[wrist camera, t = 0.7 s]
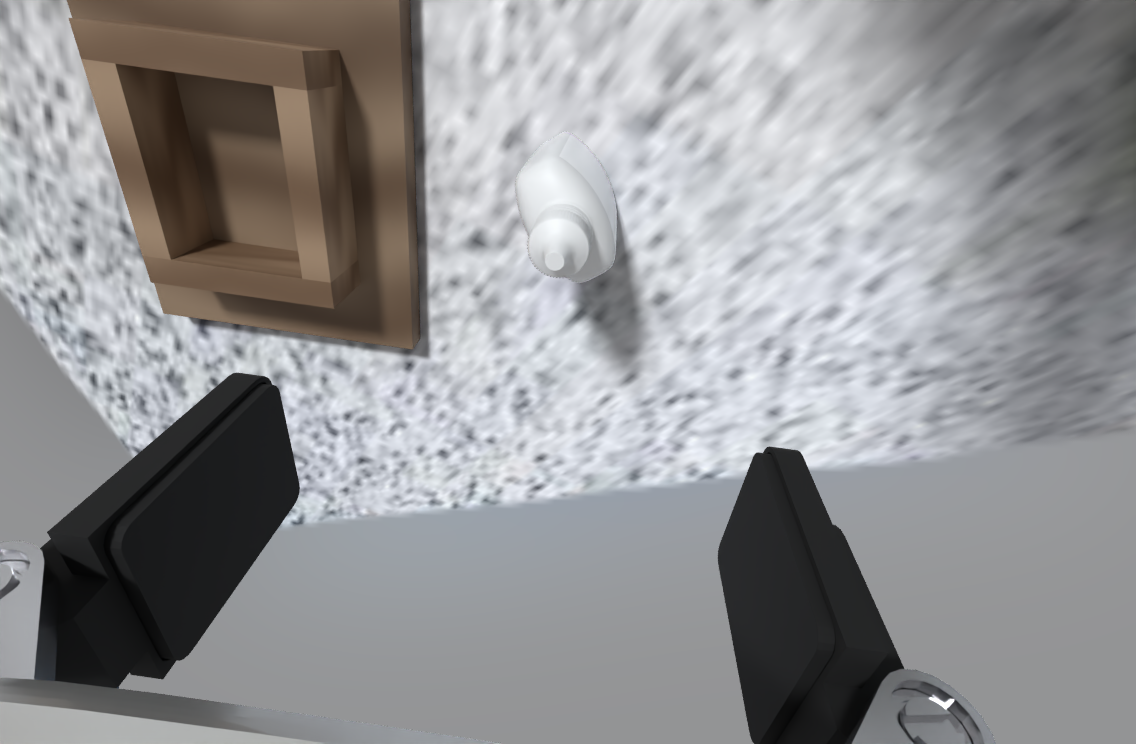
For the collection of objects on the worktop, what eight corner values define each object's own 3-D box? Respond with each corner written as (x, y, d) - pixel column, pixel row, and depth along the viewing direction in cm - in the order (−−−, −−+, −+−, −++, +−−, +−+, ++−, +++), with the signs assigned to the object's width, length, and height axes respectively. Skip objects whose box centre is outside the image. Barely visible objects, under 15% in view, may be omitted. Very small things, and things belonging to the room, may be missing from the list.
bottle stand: (67, -90, 25) (-47, -117, 21) (408, -43, 25) (364, -60, 21) (179, 303, 35) (119, 339, 31) (420, 338, 35) (392, 378, 31)
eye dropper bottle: (618, 129, 28) (617, 179, 18) (616, 236, 31) (614, 332, 21) (535, 130, 28) (486, 180, 18) (540, 236, 31) (501, 331, 21)
